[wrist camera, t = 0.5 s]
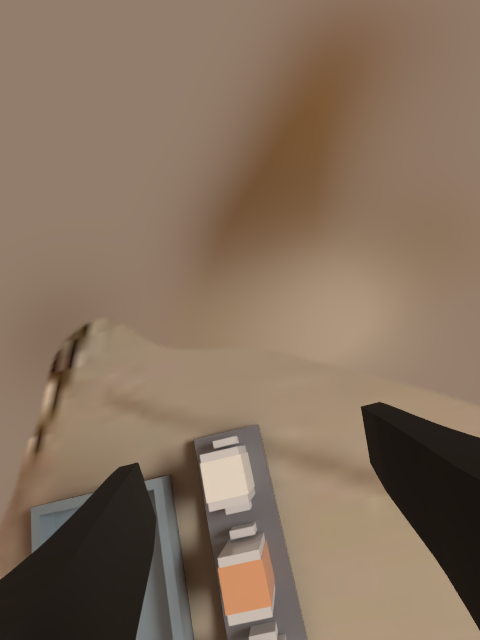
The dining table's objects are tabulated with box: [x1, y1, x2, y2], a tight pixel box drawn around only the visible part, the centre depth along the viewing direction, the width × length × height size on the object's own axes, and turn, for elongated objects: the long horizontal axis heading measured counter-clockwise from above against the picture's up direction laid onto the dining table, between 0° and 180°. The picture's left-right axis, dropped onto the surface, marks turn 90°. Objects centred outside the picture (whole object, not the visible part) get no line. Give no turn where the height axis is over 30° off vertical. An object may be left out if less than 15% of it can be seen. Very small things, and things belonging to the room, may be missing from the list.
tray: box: [31, 475, 194, 640], centre depth 30 cm, size 18×12×2 cm, turn 13°
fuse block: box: [194, 424, 308, 640], centre depth 30 cm, size 21×6×3 cm, turn 13°
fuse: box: [200, 445, 255, 512], centre depth 30 cm, size 4×3×5 cm
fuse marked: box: [217, 532, 275, 626], centre depth 28 cm, size 4×3×5 cm
